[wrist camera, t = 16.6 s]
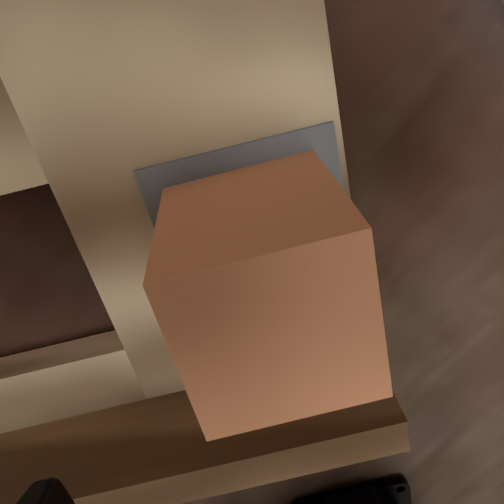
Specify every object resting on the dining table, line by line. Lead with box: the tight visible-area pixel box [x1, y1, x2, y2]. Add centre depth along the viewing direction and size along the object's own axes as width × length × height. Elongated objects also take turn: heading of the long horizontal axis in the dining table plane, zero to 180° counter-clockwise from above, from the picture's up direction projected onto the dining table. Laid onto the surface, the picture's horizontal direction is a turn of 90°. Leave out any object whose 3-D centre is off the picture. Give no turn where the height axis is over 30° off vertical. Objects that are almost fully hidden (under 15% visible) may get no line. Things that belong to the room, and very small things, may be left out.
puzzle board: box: [0, 0, 410, 504], centre depth 15 cm, size 18×19×6 cm
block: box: [143, 150, 393, 441], centre depth 14 cm, size 5×5×6 cm
